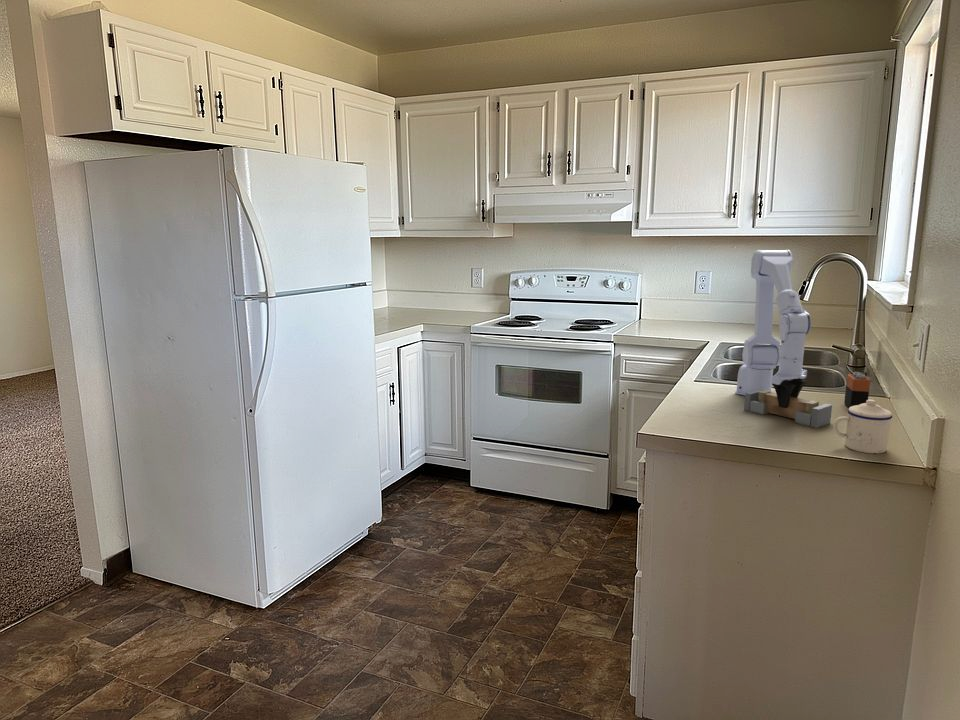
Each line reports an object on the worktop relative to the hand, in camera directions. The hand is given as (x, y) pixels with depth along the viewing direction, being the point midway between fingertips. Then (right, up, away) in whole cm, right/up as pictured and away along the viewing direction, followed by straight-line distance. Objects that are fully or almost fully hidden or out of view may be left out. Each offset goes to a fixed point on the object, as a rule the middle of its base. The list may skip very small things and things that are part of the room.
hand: (786, 406), depth 180 cm
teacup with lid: (+6, -8, -24) cm, 26 cm away
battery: (+24, -1, +9) cm, 25 cm away
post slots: (0, -3, +1) cm, 3 cm away
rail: (0, -3, 0) cm, 3 cm away
